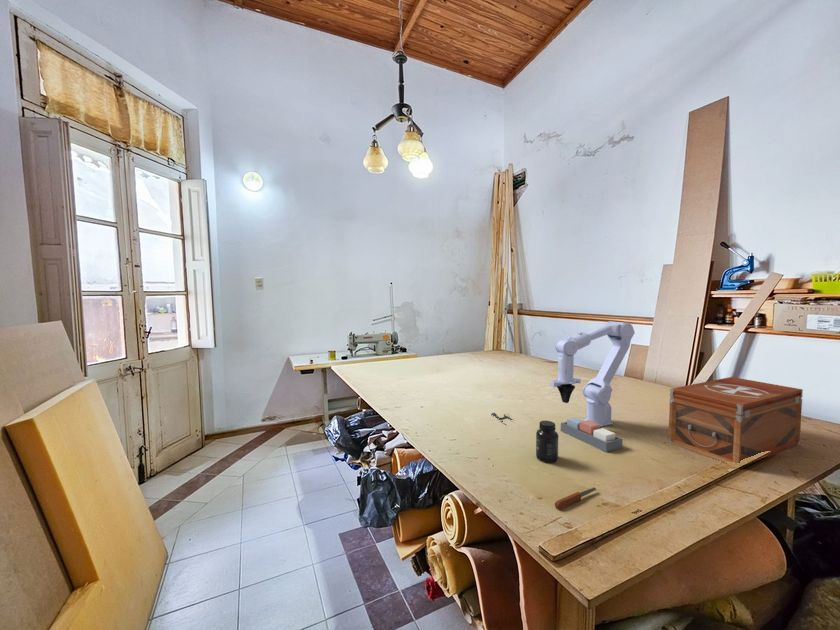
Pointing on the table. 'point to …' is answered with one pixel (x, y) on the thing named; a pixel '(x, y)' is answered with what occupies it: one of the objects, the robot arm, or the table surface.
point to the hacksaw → (502, 417)
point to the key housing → (592, 438)
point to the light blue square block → (574, 422)
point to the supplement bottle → (547, 442)
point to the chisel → (572, 498)
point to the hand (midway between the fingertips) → (565, 402)
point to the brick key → (589, 426)
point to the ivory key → (604, 434)
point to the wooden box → (735, 418)
